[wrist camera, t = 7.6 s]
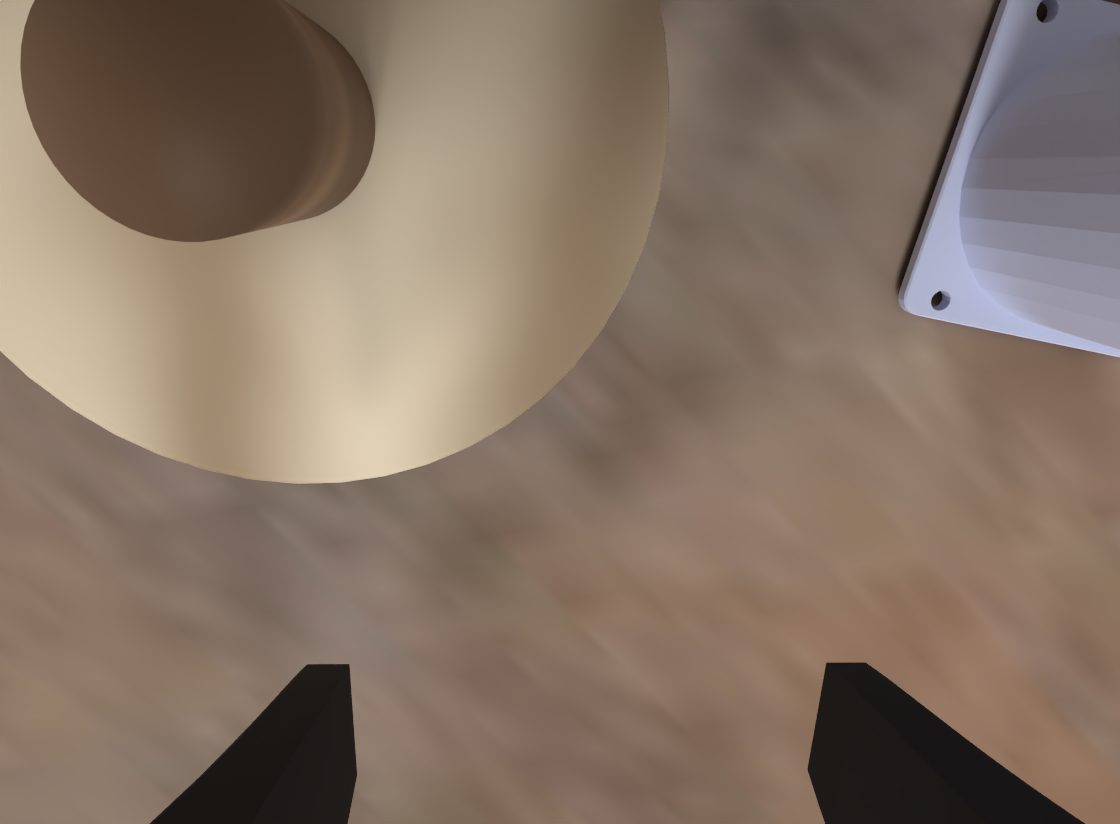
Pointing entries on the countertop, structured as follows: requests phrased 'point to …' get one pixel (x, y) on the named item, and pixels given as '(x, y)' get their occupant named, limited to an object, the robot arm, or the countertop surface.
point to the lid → (320, 216)
